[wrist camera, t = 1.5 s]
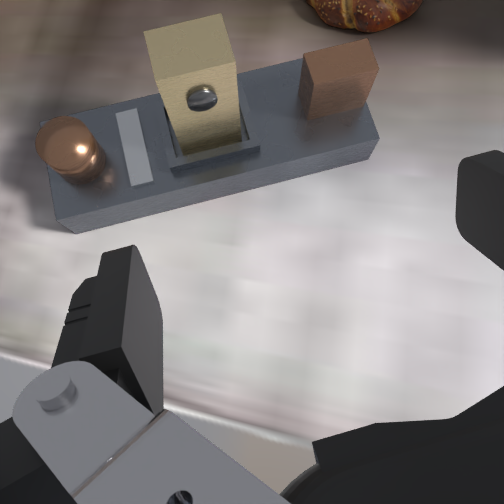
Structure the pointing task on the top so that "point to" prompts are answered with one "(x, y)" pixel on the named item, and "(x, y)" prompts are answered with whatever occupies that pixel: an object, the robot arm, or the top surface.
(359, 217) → the top surface
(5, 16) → the top surface
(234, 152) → the plane body
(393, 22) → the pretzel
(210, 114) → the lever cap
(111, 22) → the top surface
